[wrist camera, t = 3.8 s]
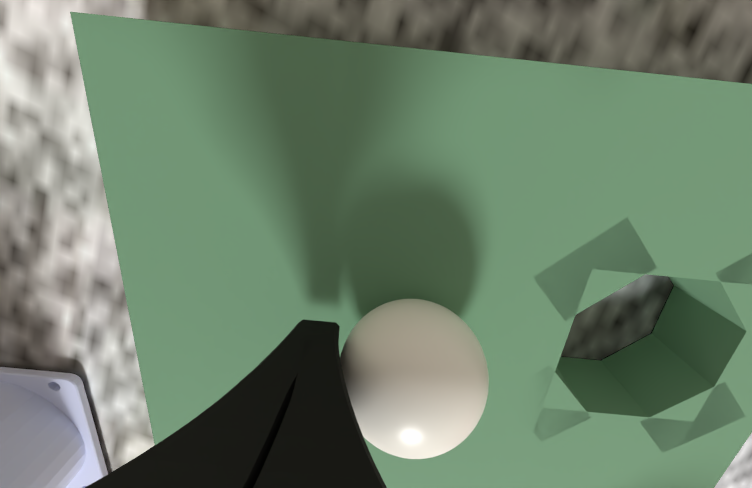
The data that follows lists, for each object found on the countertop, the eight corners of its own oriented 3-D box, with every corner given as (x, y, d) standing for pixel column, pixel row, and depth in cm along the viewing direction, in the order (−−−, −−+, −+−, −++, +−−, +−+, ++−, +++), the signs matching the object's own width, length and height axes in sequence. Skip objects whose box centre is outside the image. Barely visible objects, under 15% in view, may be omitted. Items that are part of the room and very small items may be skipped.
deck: (197, 412, 17) (160, 472, 14) (149, 35, 11) (69, 11, 8) (642, 452, 17) (692, 519, 14) (828, 106, 11) (973, 107, 9)
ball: (340, 373, 12) (325, 493, 8) (348, 268, 11) (334, 358, 7) (454, 381, 12) (490, 502, 8) (478, 279, 11) (534, 372, 7)
